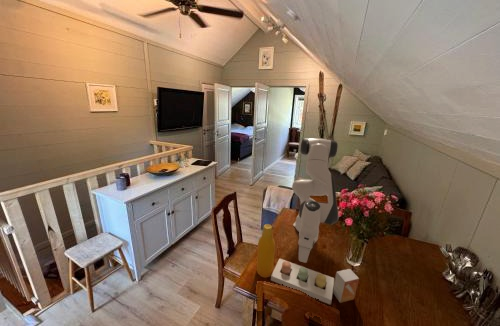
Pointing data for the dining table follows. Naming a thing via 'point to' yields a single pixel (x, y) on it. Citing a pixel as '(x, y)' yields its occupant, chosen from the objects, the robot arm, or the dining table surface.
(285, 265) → the terracotta button
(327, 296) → the board
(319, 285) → the mustard button
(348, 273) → the small box
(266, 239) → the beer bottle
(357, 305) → the dining table surface
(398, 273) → the dining table surface
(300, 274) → the green button
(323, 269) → the dining table surface
